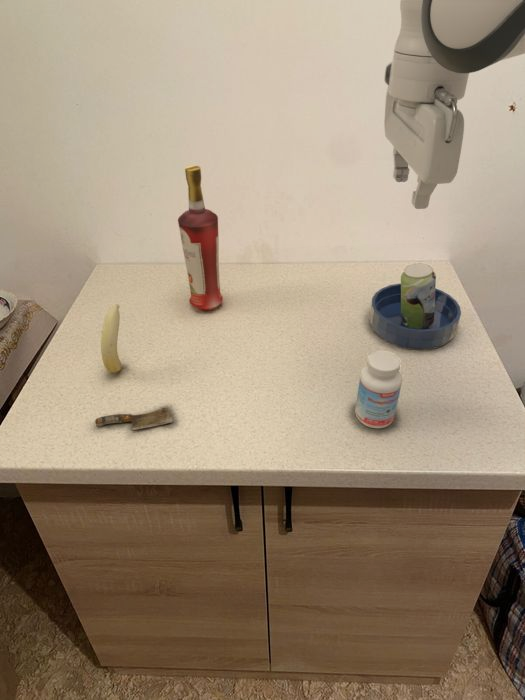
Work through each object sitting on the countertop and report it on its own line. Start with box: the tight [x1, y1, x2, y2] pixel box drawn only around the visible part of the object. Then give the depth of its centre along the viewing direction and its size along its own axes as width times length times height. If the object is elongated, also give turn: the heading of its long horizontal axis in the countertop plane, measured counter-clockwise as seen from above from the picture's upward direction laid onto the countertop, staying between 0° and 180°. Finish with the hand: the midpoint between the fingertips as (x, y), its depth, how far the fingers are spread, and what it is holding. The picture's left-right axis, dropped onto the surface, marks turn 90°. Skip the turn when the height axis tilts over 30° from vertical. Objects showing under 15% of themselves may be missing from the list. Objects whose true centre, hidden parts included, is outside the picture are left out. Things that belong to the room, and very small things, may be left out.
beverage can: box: [400, 262, 437, 329], centre depth 93 cm, size 6×7×12 cm
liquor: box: [177, 165, 224, 312], centre depth 95 cm, size 7×7×28 cm
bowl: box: [368, 282, 462, 351], centre depth 96 cm, size 16×16×4 cm
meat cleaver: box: [94, 406, 174, 431], centre depth 78 cm, size 12×1×5 cm
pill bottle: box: [354, 350, 403, 429], centre depth 75 cm, size 6×6×11 cm
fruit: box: [100, 303, 122, 374], centre depth 84 cm, size 6×12×3 cm
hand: (409, 192), depth 68 cm, fingers open, 8 cm apart
